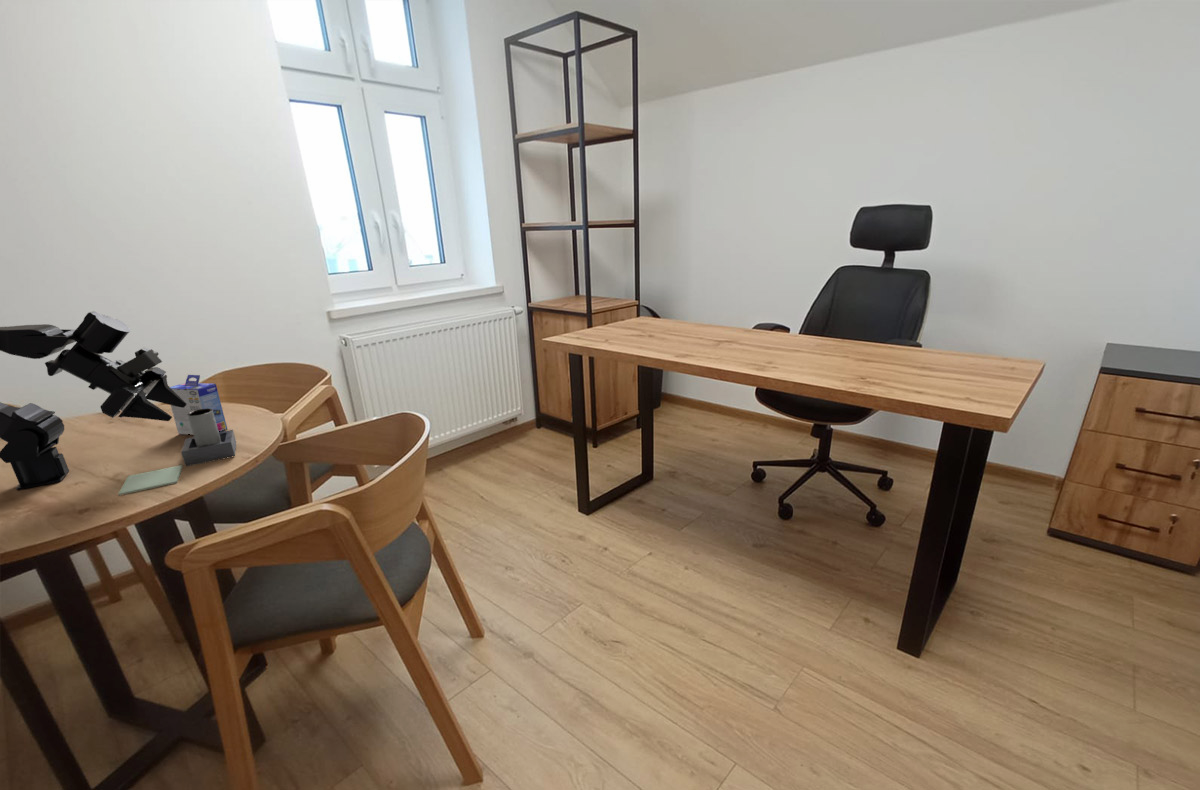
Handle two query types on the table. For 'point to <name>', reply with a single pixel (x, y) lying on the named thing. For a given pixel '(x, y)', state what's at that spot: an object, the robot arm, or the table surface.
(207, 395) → the ink cartridge box
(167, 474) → the mat
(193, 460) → the collar
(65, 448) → the table surface
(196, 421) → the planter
